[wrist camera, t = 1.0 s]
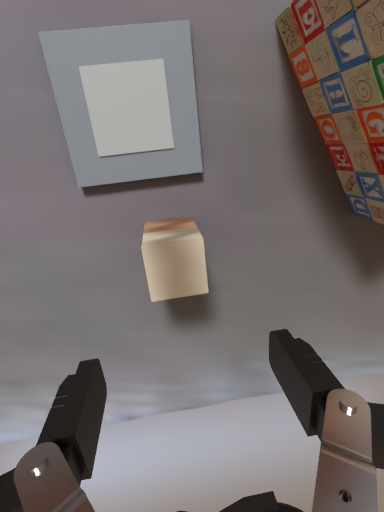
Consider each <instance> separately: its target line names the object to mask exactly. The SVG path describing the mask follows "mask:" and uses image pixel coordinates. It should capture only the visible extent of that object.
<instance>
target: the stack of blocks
mask: <svg viewBox="0 0 384 512" xmlns="http://www.w3.org/2000/svg"><path fill="white" fill-rule="evenodd" d="M275 23H276V25H277V28H278V30H279V33H280V35H281V37H282V40H283V42H284V45H285V47H286V50H287V52H288V55H289V60H290V62H291V65H292V67H293V70H294V72H295V75H296V77H297V79H298V82H299V84H300V87H301V88H302V92H303V94H304V97H305V99H306V102H307V104H308V107H309V109H310V111H311V114H312V116H313V117H314V118H315V120H316V123H317V125H318V127H319V130H320V132H321V135H322V137H323V140H324V142H325V144H326V145H327V148H328V150H329V153H330V155H331V158H332V160H333V163H334V165H335V167H336V169H337V170H336V172H337V175H338V177H339V179H340V182H341V184H342V187H343V189H344V191H345V193H346V196H347V199H348V201H349V203H350V205H351V208H352V210H353V213H354V214H355V215H357V216H360V217H363V218H366V219H369V220H371V221H375V222H377V223H380V224H383V225H384V0H294V1H293V2H292V3H291V4H290V5H289V6H288V7H287V8H286V9H285V10H284V11H283V12H282V13H281V14H280V16H279V17H278V18H277V19H276V20H275Z"/></svg>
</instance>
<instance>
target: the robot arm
mask: <svg viewBox="0 0 384 512" xmlns="http://www.w3.org/2000/svg"><path fill="white" fill-rule="evenodd" d="M269 361H270V365H271V368H272V370H273V372H274V374H275V376H276V378H277V380H278V382H279V384H280V385H281V387H282V389H283V391H284V393H285V395H286V397H287V398H288V400H289V402H290V404H291V406H292V408H293V410H294V411H295V413H296V415H297V417H298V419H299V421H300V422H301V425H302V426H303V428H304V430H305V432H306V434H307V436H313V435H318V437H319V439H320V441H321V446H320V454H319V462H318V469H317V477H316V485H315V492H314V499H313V507H312V512H378V505H377V478H376V468H380V469H384V404H376V403H369V402H366V401H365V400H364V399H363V398H362V397H361V396H360V395H358V394H357V393H355V392H353V391H350V390H347V389H345V388H344V387H343V386H342V385H341V384H340V382H339V381H338V380H337V378H336V377H335V376H334V375H333V373H332V372H331V371H330V369H329V368H328V367H327V366H326V364H325V363H324V362H322V359H321V358H320V357H319V356H318V355H317V354H316V352H315V351H314V349H313V348H312V347H311V346H310V345H309V344H308V343H306V342H305V341H303V340H302V339H300V338H297V339H294V338H293V337H292V335H291V334H290V333H289V331H288V330H287V329H282V330H276V331H271V332H270V334H269ZM106 396H107V388H106V382H105V378H104V375H103V371H102V368H101V364H100V361H99V359H91V360H85V361H81V362H80V363H79V366H78V368H77V371H76V374H74V375H68V377H67V378H66V379H65V380H64V381H63V383H62V384H61V385H60V386H59V389H58V392H57V394H56V397H55V399H54V402H53V404H52V408H51V409H50V412H49V414H48V417H47V419H46V422H45V424H44V427H43V429H42V432H41V434H40V437H39V439H38V442H37V444H36V446H35V447H34V448H32V449H30V450H29V451H28V452H27V453H26V454H25V455H24V456H23V457H22V458H21V459H20V461H19V462H18V464H17V466H16V468H14V469H13V470H11V471H9V472H7V473H5V474H3V475H1V476H0V512H95V511H94V509H93V507H92V505H91V503H90V502H89V500H88V498H87V496H86V494H85V493H84V491H83V490H82V489H81V488H80V483H81V480H85V479H90V478H91V476H92V471H93V466H94V460H95V455H96V450H97V445H98V439H99V434H100V429H101V424H102V418H103V413H104V408H105V403H106ZM178 512H186V511H178ZM220 512H303V511H302V510H300V509H298V508H296V507H293V506H291V505H288V504H284V503H279V502H277V501H276V498H275V496H274V493H273V491H271V492H266V493H262V494H257V495H253V496H248V497H244V498H242V499H240V500H238V501H237V502H235V503H233V504H232V505H230V506H228V507H226V508H225V509H223V510H221V511H220Z"/></svg>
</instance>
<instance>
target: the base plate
mask: <svg viewBox="0 0 384 512" xmlns="http://www.w3.org/2000/svg"><path fill="white" fill-rule="evenodd" d="M38 34H39V38H40V42H41V45H42V49H43V53H44V57H45V61H46V64H47V68H48V72H49V76H50V80H51V84H52V87H53V91H54V95H55V99H56V103H57V107H58V110H59V114H60V118H61V122H62V126H63V130H64V133H65V137H66V141H67V145H68V149H69V153H70V156H71V160H72V164H73V168H74V172H75V176H76V179H77V183H78V187H87V186H95V185H103V184H111V183H119V182H127V181H135V180H143V179H151V178H159V177H167V176H175V175H183V174H191V173H199V172H203V169H202V158H201V147H200V135H199V124H198V113H197V102H196V90H195V79H194V68H193V57H192V45H191V34H190V23H189V20H181V21H169V22H157V23H144V24H132V25H120V26H108V27H95V28H83V29H71V30H59V31H46V32H38Z"/></svg>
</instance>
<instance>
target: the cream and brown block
mask: <svg viewBox="0 0 384 512" xmlns="http://www.w3.org/2000/svg"><path fill="white" fill-rule="evenodd" d="M141 249H142V254H143V259H144V265H145V270H146V275H147V280H148V286H149V291H150V296H151V301H152V302H154V301H161V300H167V299H173V298H179V297H186V296H192V295H198V294H205V293H209V292H208V282H207V272H206V261H205V251H204V241H203V237H202V236H201V234H200V232H199V230H198V228H197V226H196V224H195V222H194V220H193V218H192V217H191V216H190V217H182V218H175V219H168V220H160V221H153V222H146V223H145V226H144V233H143V240H142V247H141Z"/></svg>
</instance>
